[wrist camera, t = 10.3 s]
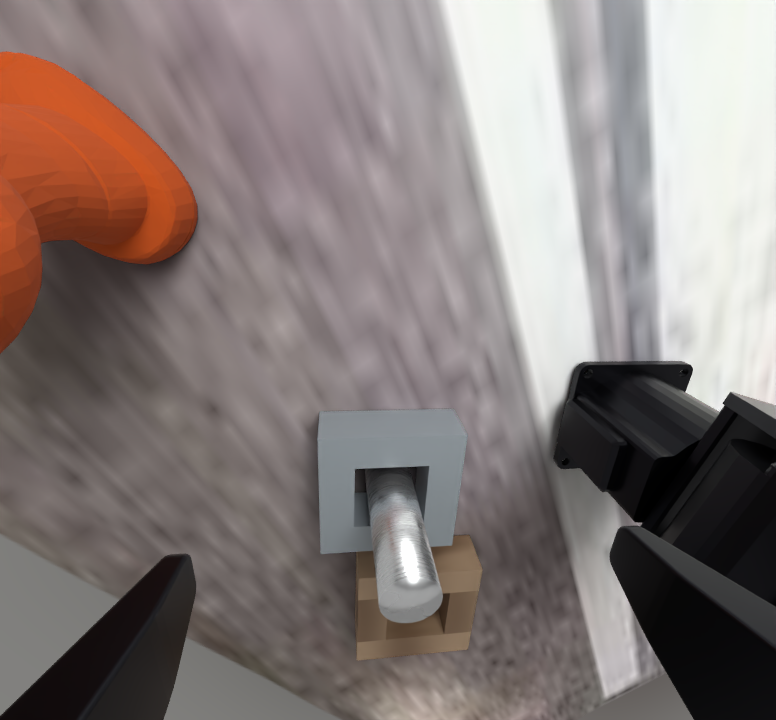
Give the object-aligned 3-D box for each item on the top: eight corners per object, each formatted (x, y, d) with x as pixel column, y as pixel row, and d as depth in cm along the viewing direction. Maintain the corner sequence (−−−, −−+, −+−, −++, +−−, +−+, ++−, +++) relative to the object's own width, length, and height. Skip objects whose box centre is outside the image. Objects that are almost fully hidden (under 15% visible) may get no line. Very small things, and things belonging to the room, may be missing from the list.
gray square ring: (453, 408, 21) (467, 435, 19) (440, 511, 24) (452, 545, 22) (319, 411, 20) (317, 439, 18) (322, 517, 23) (320, 554, 21)
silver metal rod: (408, 446, 22) (445, 575, 14) (406, 482, 23) (439, 620, 15) (364, 448, 22) (380, 580, 14) (363, 484, 22) (377, 625, 15)
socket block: (469, 534, 25) (482, 569, 23) (456, 611, 28) (467, 649, 25) (356, 541, 24) (358, 578, 22) (355, 620, 27) (356, 660, 24)
